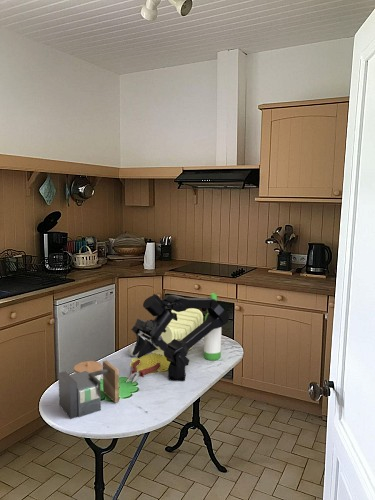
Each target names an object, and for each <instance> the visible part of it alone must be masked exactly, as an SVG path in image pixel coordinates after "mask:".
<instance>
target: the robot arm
mask: <svg viewBox="0 0 375 500" xmlns="http://www.w3.org/2000/svg"><path fill="white" fill-rule="evenodd" d="M142 307H143V308H144V309H145V310H146V311H147V312H148V313H149V314H150V315H151V316H152V317H154V319H149V320H144V319H141V318H137V319H136V322H135V323H134V325H133V327H132V328H131V329H130V330H131V331H132V332H133V333H134V334H135V336H136V342H135V344H134V345H135V348H134V351H133V355H134V356H135V355H136V354H137V353H138V352H139V354H138V355H137V356H136V357H137V359H140V358H142V357H144V356H146V355H149V354H150V353H152V351H154V350H158V348H157V347H158V346H159V347H160V349H161V350H162V351H164V358H166V360H167V362H169V364H168V368H167V377H168V381H174V382H175V381H177V382H185V381H186V376H187V373H186V367H187V366H189V364H190V359H189V358H187V355H188V352H189V351H190V350H191V349H190V348H191V347H192V346H193V347H194V346H195V345H197V344H198V343H199V342H200V341H201V340H202V339H204V337H205V336H206V335H207V334H208V333H209V332H211V331H212V330H213V329H216V328H220V327H221V328H222V327H224V326H226V325H228V323H229V320H230V315H229V312H227V311H226V310H225V309H224V308H223V307H222V306H221V305H220V304H219V302H218V300H217V301H216V300H215V299H212V298H210V297H183V296H180V295H176V294H169V295H168V296H167V297H166V298H163V299H161V298H160V296H159V295H158V294H156V293H153V294H152V295H150V296H149V297H147V298H146V299H144V301H143V303H142ZM190 308H194V309H206V312H207V313H208V315H207V318H206V321H205V320H203V323H202V324H201V325H199V326H198V327H197V328H196V329H194V330H193V331H192V332H191V333H189V334H188V335H187V336H186V337H184V338H183V339H182V340H180V341H178V340H176V339H174V340H172V341H171V342H170V343H169V344H167V343H166V342H164V341H163V338H162V337H160V336H161V334H162V332H164V333H165V332H166V330H165V328H166V327H167V326H168V324H169V323H170V322H171V320H172V319H173V320H176V321H177V314H176V313H172V312H171V311H172V310H173V311H176V312H181V311H185V310H187V309H190ZM189 349H190V350H189ZM188 350H189V351H188Z"/></svg>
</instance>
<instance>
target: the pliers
mask: <svg viewBox="0 0 375 500" xmlns="http://www.w3.org/2000/svg"><path fill="white" fill-rule="evenodd" d="M139 363H140V364H141V360H140V359H136V360H135V362H133V364H132V370H130V375H129V377H128V378H127V379H126V381H125V383H127V382H128V383H129V382H130V381H131V383H132V384H133V383H135V382H136V381H137V380H139V378H140V377H141V378H144V377H145V375H148V374H152V373H154V372H156V371H158V370H159V369H160V368H161V363H160V362H157V363H155V365H153V366H150V367H146V368H144V369H142V370H138V369H137V365H138V366H139V365H140V364H139ZM159 367H160V368H159Z"/></svg>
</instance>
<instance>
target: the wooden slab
mask: <svg viewBox="0 0 375 500" xmlns="http://www.w3.org/2000/svg"><path fill="white" fill-rule="evenodd" d="M101 374H102V375H101ZM97 375H101V376H102V381H101V380H100V381H99V380H98V379H97V378H96V377H95V376H97ZM89 377H91V378H92V379H93V380H94V381H95V382H96V383H97V384H98V396H99V397H100V396H101V394H102V393H101V391H102V392H103V393H104V394H105V395H106V397H108V398H110V399H111V400H112V402H114V403H118V402H119V403H120V371H119V368H117V367H116V366H114V365H113V364H112V363H110V362H109V361H108V360H102V370H100V371H97V372H93V373H89ZM101 382H102V383H101ZM101 384H102V390H100V389H101Z"/></svg>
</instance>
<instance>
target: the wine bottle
mask: <svg viewBox="0 0 375 500" xmlns="http://www.w3.org/2000/svg"><path fill="white" fill-rule="evenodd" d="M209 296H210V297H209V298H212V299H215V300H216V301H217V302H218V295H217V293H214V292H213V293H212V292H211V293H210V295H209ZM207 315H208V312H207V313H206V314H205V316H204V321H206V318H207ZM203 356H204V358H205V359H206V360H208V361H218V360H219V359H221V357H222V327H220V328H216V329H213V330H212V331H211V332H209V333H208V334H207V335H206V336H205V337H203Z"/></svg>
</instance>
